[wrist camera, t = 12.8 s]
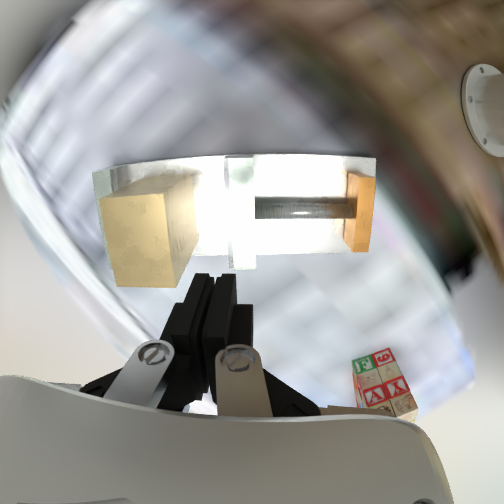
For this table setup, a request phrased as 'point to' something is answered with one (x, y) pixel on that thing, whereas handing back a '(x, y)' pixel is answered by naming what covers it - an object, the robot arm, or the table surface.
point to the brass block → (150, 230)
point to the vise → (266, 192)
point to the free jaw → (288, 211)
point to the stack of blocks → (383, 385)
